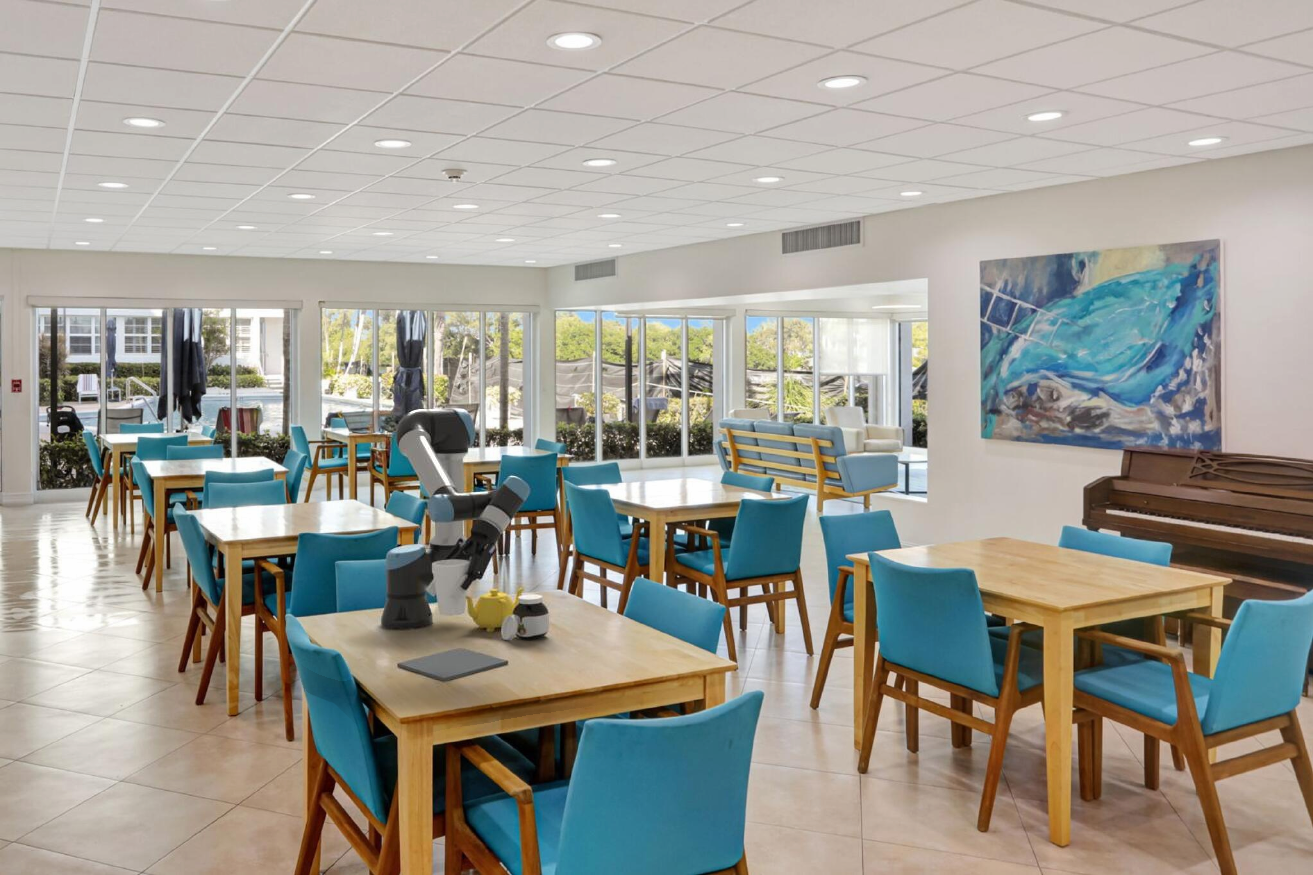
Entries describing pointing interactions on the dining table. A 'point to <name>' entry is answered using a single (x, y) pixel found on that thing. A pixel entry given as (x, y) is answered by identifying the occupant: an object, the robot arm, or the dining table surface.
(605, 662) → the dining table surface
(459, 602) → the foam cup
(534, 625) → the spread jar
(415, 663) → the rubber mat
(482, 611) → the teapot
